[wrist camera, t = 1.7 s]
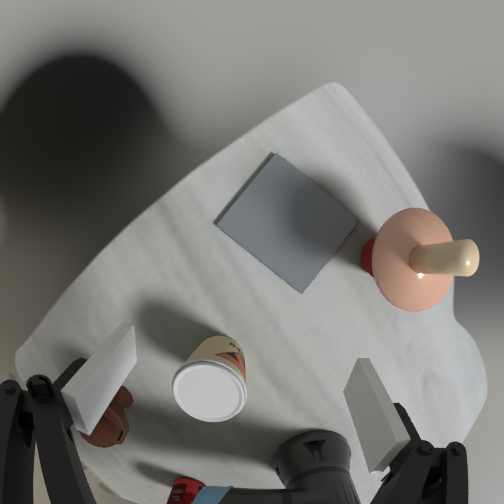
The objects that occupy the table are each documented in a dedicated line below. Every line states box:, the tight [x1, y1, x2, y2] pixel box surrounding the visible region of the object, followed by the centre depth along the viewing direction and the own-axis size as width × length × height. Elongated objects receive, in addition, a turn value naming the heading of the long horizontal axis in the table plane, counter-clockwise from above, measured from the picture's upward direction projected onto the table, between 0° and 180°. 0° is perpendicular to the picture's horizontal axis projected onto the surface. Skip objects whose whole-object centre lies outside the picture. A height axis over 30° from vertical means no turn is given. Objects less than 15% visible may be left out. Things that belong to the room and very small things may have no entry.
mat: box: [217, 153, 358, 293], centre depth 39 cm, size 16×14×1 cm
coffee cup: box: [172, 336, 247, 422], centre depth 35 cm, size 9×9×12 cm
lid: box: [372, 208, 479, 312], centre depth 23 cm, size 12×12×10 cm
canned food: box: [167, 478, 206, 504], centre depth 37 cm, size 8×8×11 cm
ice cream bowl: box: [78, 386, 133, 448], centre depth 34 cm, size 11×11×15 cm
